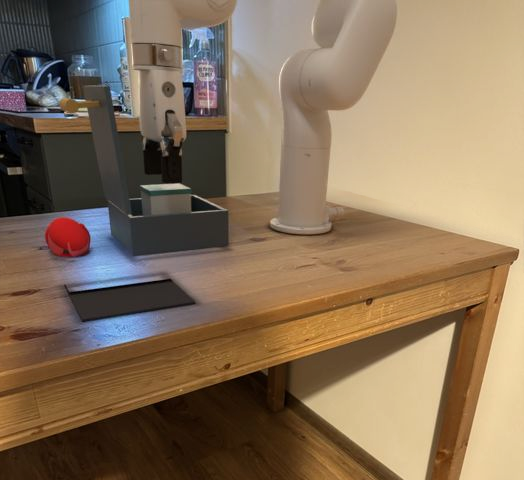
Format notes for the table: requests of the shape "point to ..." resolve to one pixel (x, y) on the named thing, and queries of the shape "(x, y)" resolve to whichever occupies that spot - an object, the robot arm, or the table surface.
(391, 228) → the table surface
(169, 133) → the robot arm
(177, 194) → the container
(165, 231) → the chest
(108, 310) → the mat
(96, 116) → the lid
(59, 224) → the cap
